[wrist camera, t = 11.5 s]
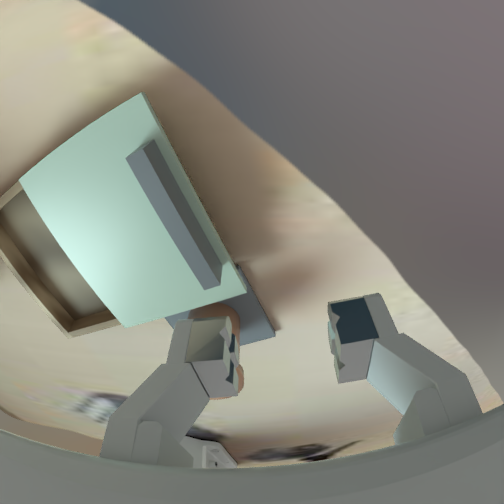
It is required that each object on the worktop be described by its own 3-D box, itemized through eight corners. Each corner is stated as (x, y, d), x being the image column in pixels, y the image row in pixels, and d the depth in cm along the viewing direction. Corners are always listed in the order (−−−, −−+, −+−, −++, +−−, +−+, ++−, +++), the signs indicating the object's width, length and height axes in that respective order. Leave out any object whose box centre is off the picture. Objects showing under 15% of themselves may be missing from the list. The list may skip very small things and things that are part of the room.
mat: (275, 331, 31) (275, 336, 30) (196, 351, 33) (196, 356, 32) (239, 265, 26) (239, 269, 26) (151, 294, 28) (149, 298, 28)
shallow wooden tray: (158, 296, 28) (152, 315, 26) (76, 322, 31) (68, 338, 29) (62, 147, 20) (45, 157, 18) (-9, 208, 23) (-23, 220, 21)
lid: (246, 287, 24) (246, 313, 22) (126, 323, 27) (118, 346, 24) (144, 91, 16) (127, 96, 14) (22, 176, 19) (1, 191, 16)
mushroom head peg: (253, 332, 30) (254, 392, 24) (201, 345, 31) (194, 403, 25) (228, 290, 27) (223, 354, 21) (172, 308, 28) (157, 368, 22)
